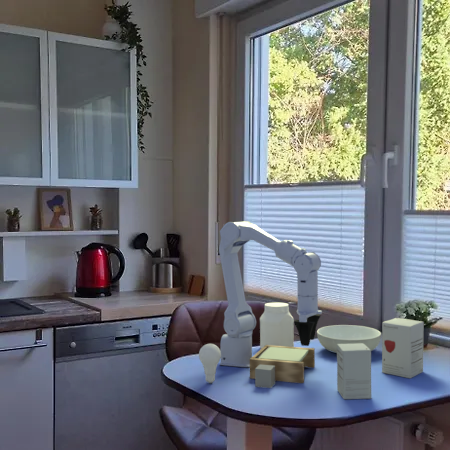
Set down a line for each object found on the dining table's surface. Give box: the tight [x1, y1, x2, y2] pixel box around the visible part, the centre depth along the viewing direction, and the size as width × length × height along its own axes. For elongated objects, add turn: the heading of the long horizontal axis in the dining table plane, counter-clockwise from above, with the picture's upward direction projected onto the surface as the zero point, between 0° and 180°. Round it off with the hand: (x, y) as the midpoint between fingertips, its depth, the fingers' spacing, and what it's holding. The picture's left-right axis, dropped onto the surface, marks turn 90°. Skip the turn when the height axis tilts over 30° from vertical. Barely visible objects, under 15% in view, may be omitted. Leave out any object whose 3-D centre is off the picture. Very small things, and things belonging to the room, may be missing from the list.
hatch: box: [257, 347, 308, 362], centre depth 172 cm, size 12×13×1 cm
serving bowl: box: [316, 324, 382, 354], centre depth 195 cm, size 21×21×7 cm
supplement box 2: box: [381, 317, 425, 379], centre depth 171 cm, size 9×9×15 cm
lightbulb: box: [198, 343, 221, 384], centre depth 163 cm, size 6×6×11 cm
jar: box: [259, 301, 295, 350], centre depth 201 cm, size 12×10×15 cm
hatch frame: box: [249, 345, 316, 384], centre depth 172 cm, size 15×17×6 cm
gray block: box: [255, 364, 276, 389], centre depth 161 cm, size 4×4×5 cm
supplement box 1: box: [336, 343, 372, 400], centre depth 152 cm, size 7×7×13 cm
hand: (307, 342), depth 168 cm, fingers open, 7 cm apart
